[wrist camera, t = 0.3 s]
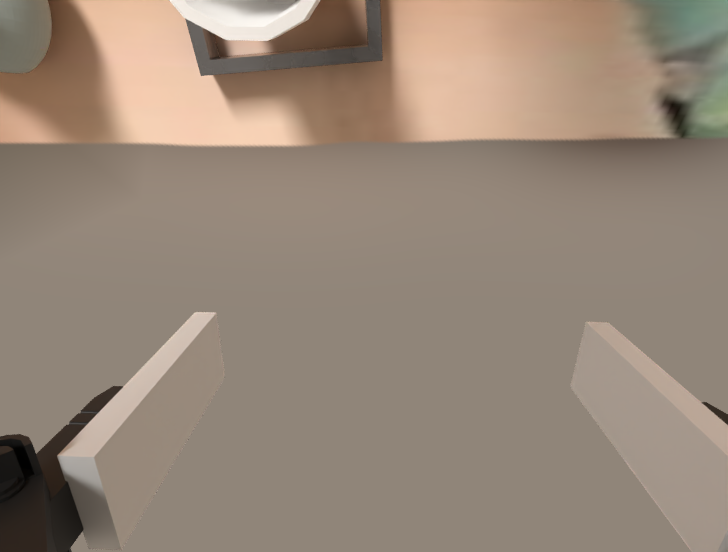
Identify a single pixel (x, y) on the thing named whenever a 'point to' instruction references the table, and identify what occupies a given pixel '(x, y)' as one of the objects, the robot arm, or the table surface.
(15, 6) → the air freshener
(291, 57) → the grey square frame
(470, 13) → the table surface
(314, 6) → the foam cup
